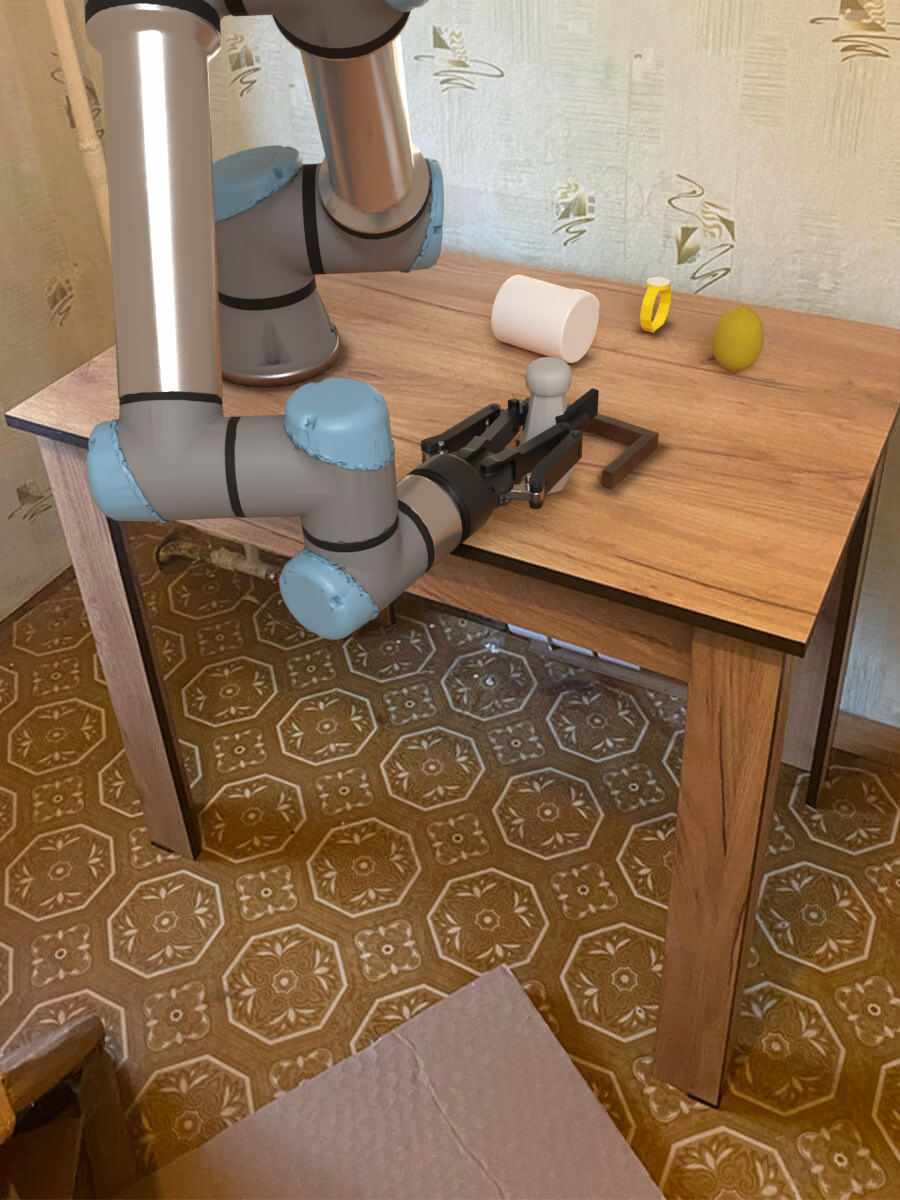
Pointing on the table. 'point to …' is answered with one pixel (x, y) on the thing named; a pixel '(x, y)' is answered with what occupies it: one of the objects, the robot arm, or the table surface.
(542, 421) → the salt shaker
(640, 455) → the walnut stop
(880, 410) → the table surface
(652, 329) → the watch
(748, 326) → the lemon
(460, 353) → the table surface
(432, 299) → the table surface
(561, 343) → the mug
